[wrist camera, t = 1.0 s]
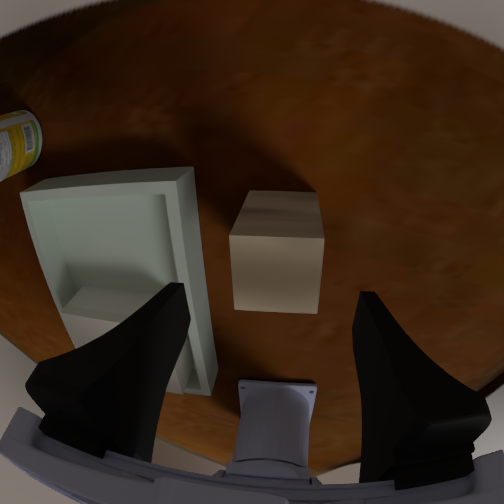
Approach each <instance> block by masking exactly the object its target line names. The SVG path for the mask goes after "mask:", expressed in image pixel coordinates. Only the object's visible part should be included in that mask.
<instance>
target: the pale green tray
mask: <svg viewBox="0 0 504 504" xmlns="http://www.w3.org/2000/svg"><path fill="white" fill-rule="evenodd" d="M20 197H21V201H22V205H23V209H24V213H25V216H26V220H27V224H28V227H29V230H30V234H31V237H32V240H33V244H34V247H35V250H36V253H37V256H38V259H39V262H40V265H41V268H42V270H43V273H44V276H45V279H46V281H47V284H48V286H49V289H50V292H51V294H52V297H53V299H54V302H55V304H56V306H57V309H58V311H59V313H60V312H61V311H62V310H63V308H64V307H65V306H66V305H67V304H68V303H69V301H70V300H71V299H72V298H73V297H74V296H75V295H76V293H77V292H78V291H79V290H80V289H81V288H82V287H83V286H84V287H93V288H101V289H110V290H120V291H129V292H139V293H149V294H157V293H158V292H159V291H160V290H161V289H163V288H164V287H165V286H166V285H167V284H169V283H170V282H177V283H184V286H185V292H186V297H187V302H188V307H189V311H190V316H191V322H190V326H189V330H188V337H189V342H190V346H191V351H192V355H193V360H194V364H193V367H192V370H191V373H190V376H189V378H188V381H187V384H186V387H185V390H184V392H185V393H192V394H199V395H206V396H211V394H212V390H213V387H214V383H215V379H216V376H217V372H218V364H217V357H216V351H215V344H214V337H213V331H212V324H211V316H210V309H209V302H208V294H207V286H206V279H205V270H204V262H203V254H202V245H201V236H200V227H199V217H198V207H197V197H196V186H195V175H194V167H169V168H151V169H136V170H123V171H111V172H100V173H90V174H81V175H72V176H64V177H56V178H48V179H44V180H43V181H41V182H39V183H37V184H35V185H33V186H31V187H29V188H27V189H26V190H24V191H22V192H20ZM60 316H61V318H62V315H61V313H60ZM62 320H63V318H62ZM63 322H64V320H63ZM64 325H65V327H66V324H65V322H64ZM66 329H67V327H66ZM67 331H68V329H67ZM68 333H69V331H68ZM69 336H70V338H71V340H72V337H71V335H70V333H69ZM72 342H73V340H72ZM73 344H74V342H73ZM74 346H75V344H74ZM75 348H76V346H75Z"/></svg>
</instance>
